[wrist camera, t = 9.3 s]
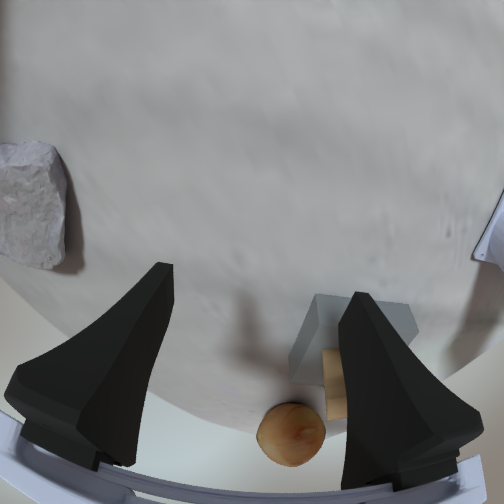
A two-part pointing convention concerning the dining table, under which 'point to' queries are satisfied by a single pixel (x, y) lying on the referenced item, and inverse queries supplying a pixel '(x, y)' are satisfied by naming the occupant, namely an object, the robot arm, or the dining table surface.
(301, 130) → the dining table surface
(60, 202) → the stone block
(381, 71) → the dining table surface
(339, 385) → the oak cube
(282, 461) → the onion
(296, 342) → the slate block
